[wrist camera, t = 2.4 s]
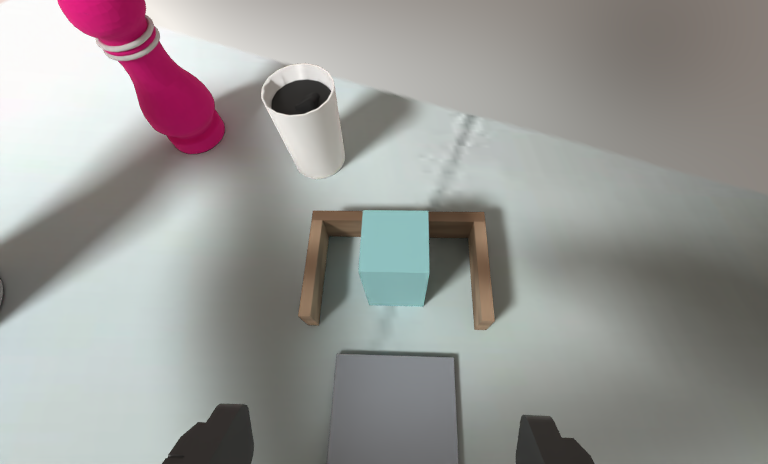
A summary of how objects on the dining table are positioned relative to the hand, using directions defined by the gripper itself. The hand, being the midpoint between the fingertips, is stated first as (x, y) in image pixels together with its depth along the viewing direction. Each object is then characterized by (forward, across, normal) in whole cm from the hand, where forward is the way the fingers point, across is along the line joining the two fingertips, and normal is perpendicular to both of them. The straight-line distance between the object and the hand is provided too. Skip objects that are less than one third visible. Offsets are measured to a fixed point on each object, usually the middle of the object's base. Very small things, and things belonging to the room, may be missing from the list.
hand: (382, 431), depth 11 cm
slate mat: (+15, 0, -15) cm, 21 cm away
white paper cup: (+34, -9, +4) cm, 35 cm away
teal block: (+23, 0, -6) cm, 24 cm away
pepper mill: (+36, -24, +6) cm, 44 cm away
